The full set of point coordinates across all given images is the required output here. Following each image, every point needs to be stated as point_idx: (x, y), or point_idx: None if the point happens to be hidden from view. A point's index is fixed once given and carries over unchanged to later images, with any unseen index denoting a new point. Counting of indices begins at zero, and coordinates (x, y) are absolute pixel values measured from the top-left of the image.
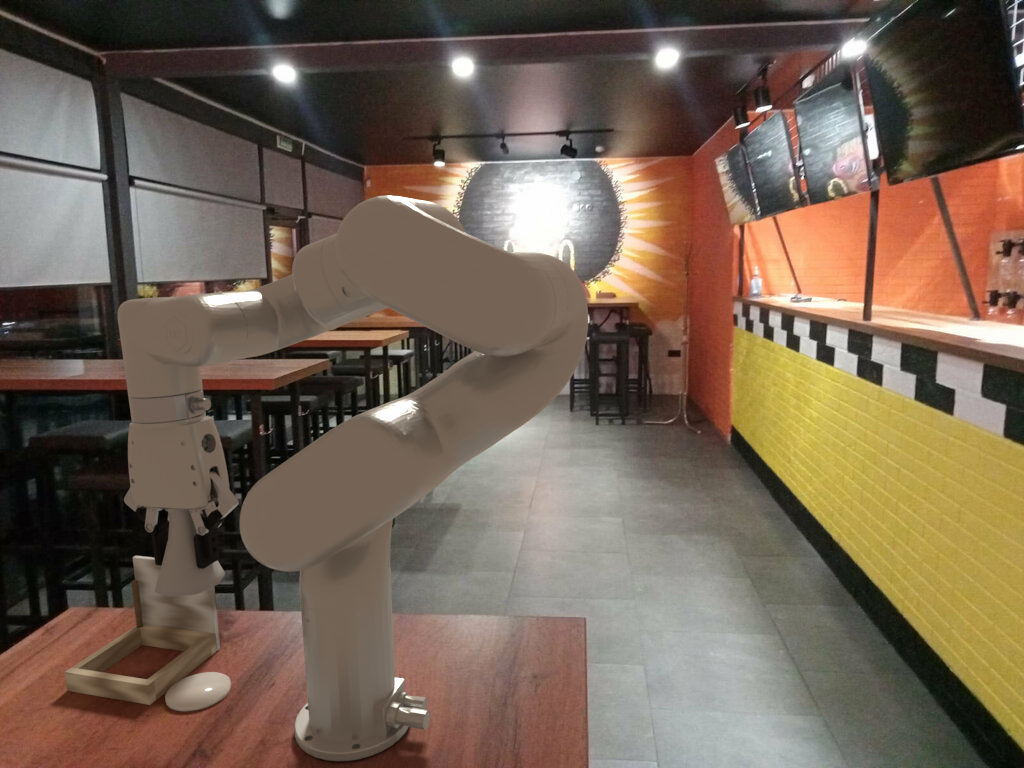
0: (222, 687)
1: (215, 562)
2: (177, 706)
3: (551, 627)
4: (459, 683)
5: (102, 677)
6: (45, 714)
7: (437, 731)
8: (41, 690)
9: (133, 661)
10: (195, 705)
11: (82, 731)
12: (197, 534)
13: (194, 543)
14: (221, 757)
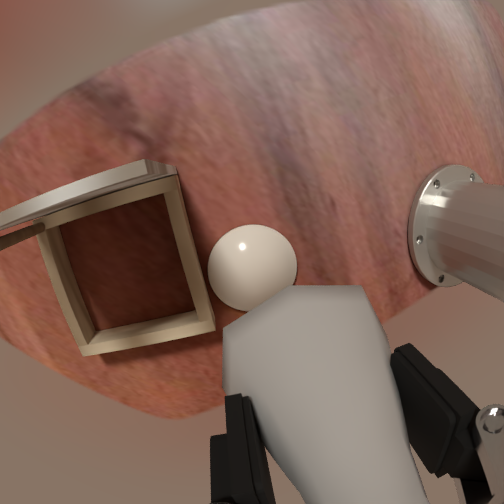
0: (282, 251)
1: (379, 336)
2: None
3: (490, 16)
4: (489, 125)
5: (138, 345)
6: (121, 377)
7: None
8: (67, 352)
9: (89, 259)
10: None
11: (191, 377)
12: (443, 469)
13: (422, 459)
14: None
